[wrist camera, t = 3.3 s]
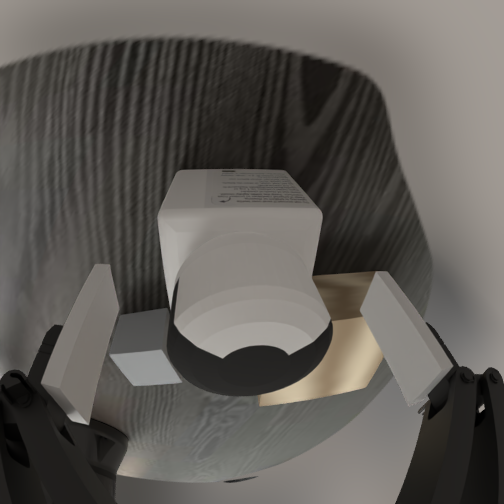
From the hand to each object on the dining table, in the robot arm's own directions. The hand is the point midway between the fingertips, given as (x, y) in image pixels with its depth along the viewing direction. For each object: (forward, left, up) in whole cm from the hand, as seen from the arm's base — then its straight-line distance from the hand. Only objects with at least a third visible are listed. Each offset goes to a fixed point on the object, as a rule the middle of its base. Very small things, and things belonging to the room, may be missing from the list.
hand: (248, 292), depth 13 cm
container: (0, 0, -9) cm, 9 cm away
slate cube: (-7, -12, -9) cm, 17 cm away
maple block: (+9, -11, -9) cm, 17 cm away
